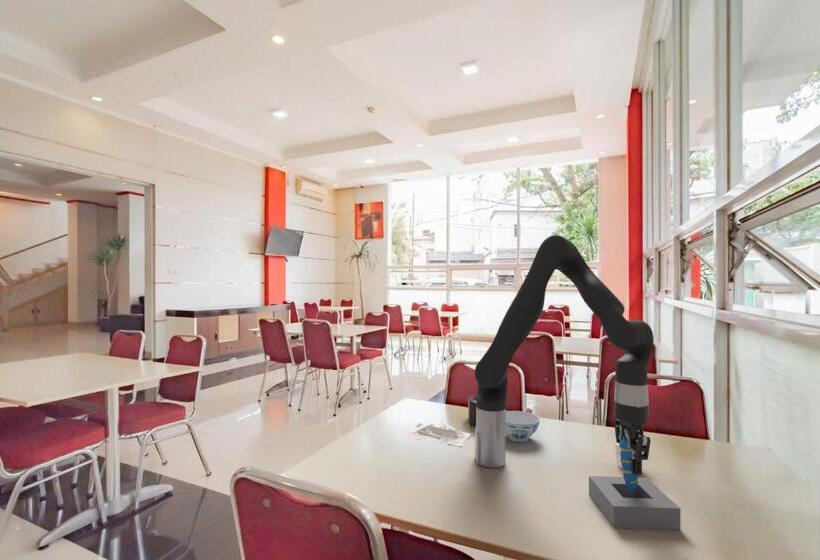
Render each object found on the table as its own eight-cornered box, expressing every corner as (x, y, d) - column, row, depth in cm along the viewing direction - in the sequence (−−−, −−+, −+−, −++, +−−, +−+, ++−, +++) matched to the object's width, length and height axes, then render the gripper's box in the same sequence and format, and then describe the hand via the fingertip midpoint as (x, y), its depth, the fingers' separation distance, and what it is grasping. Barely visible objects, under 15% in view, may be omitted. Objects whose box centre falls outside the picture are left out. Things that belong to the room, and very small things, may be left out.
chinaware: (544, 436, 152) (544, 415, 152) (532, 449, 139) (533, 427, 139) (505, 428, 160) (505, 408, 160) (491, 440, 147) (491, 418, 148)
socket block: (613, 527, 95) (613, 506, 95) (588, 494, 110) (588, 475, 110) (680, 530, 94) (680, 508, 94) (646, 496, 109) (646, 477, 109)
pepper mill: (497, 427, 161) (498, 381, 161) (469, 426, 162) (469, 380, 162) (492, 414, 177) (493, 373, 177) (466, 414, 177) (467, 372, 178)
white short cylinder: (642, 472, 123) (642, 449, 123) (618, 470, 125) (618, 447, 125) (635, 462, 130) (635, 440, 130) (611, 460, 131) (611, 438, 131)
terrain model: (415, 428, 164) (415, 416, 164) (473, 433, 156) (472, 419, 157) (402, 443, 148) (401, 429, 148) (465, 449, 141) (464, 434, 141)
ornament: (615, 489, 104) (615, 430, 105) (634, 488, 105) (634, 429, 105) (627, 499, 99) (627, 437, 100) (648, 499, 100) (647, 437, 100)
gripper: (603, 392, 110) (603, 456, 109) (629, 409, 95) (629, 482, 95) (632, 393, 109) (632, 457, 109) (662, 409, 95) (662, 483, 95)
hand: (631, 468), depth 102 cm, fingers closed on ornament, 5 cm apart
